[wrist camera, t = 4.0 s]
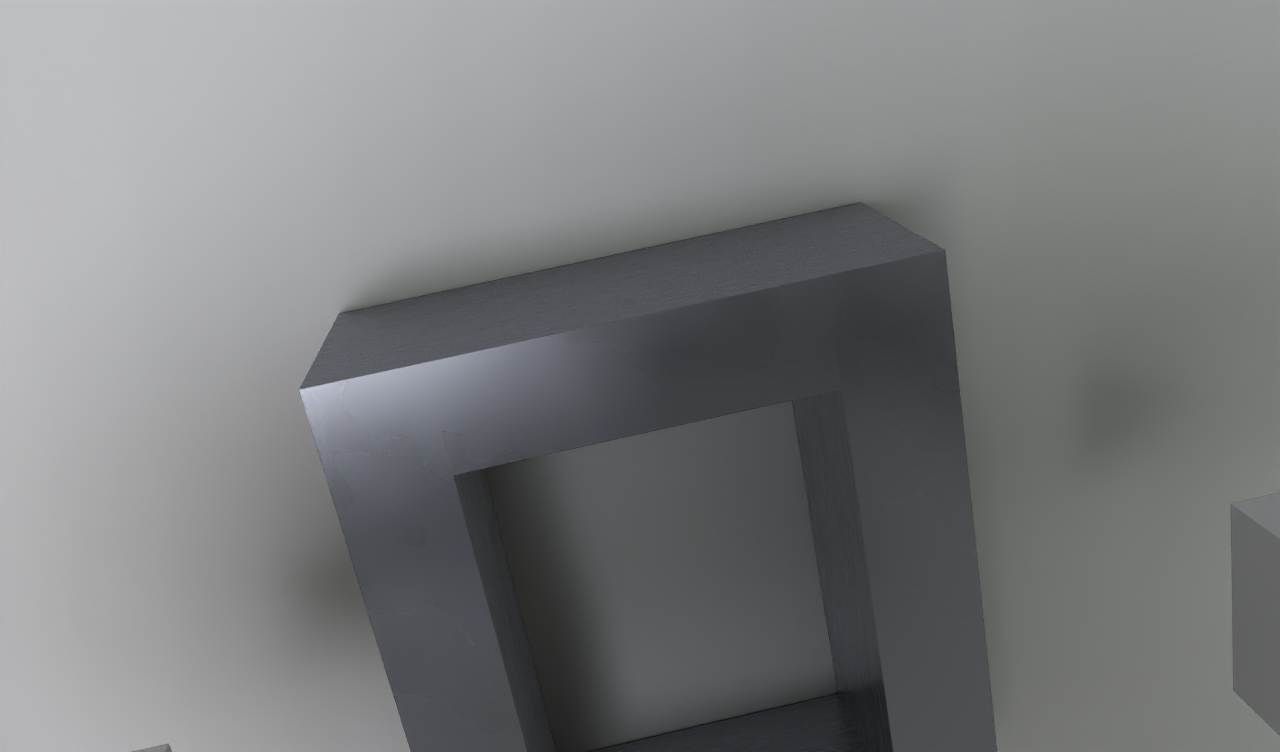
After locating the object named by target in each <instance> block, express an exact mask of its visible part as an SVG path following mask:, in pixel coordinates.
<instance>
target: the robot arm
mask: <svg viewBox="0 0 1280 752" xmlns="http://www.w3.org/2000/svg"><path fill="white" fill-rule="evenodd" d="M1231 554H1232V631H1233V690H1234V691H1235V692H1236V693H1237V694H1238V695H1239V696H1240V697H1241V698H1242V699H1243V700H1244V701H1245V702H1246V703H1247V704H1248V705H1249V706H1250V707H1251V708H1252V709H1253V710H1254V711H1255V712H1256V713H1257V714H1258V715H1259V716H1260V717H1261V718H1262V719H1263V720H1264V721H1265V722H1266V723H1267V724H1268V725H1269V726H1270V727H1272V728H1273V729H1274V730H1275V731H1276V732H1277V733H1278V734H1279V735H1280V493H1276V494H1272V495H1267V496H1263V497H1258V498H1254V499H1250V500H1245V501H1241V502H1236V503H1232V504H1231ZM133 752H172V751H171V748H170V746H169V743H168V744H164V745H160V746H155V747H151V748H146V749H142V750H137V751H133Z"/></svg>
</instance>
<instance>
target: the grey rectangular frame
mask: <svg viewBox="0 0 1280 752" xmlns="http://www.w3.org/2000/svg"><path fill="white" fill-rule="evenodd" d="M299 391H300V394H301V397H302V401H303V404H304V407H305V410H306V414H307V417H308V420H309V423H310V427H311V430H312V433H313V436H314V440H315V443H316V446H317V449H318V453H319V456H320V459H321V462H322V466H323V469H324V472H325V475H326V478H327V482H328V485H329V488H330V491H331V495H332V498H333V501H334V504H335V508H336V511H337V514H338V517H339V521H340V524H341V527H342V530H343V534H344V537H345V540H346V543H347V547H348V550H349V553H350V556H351V560H352V563H353V566H354V569H355V572H356V576H357V579H358V582H359V585H360V589H361V592H362V595H363V598H364V602H365V605H366V608H367V611H368V615H369V618H370V621H371V624H372V628H373V631H374V634H375V637H376V641H377V644H378V647H379V650H380V654H381V657H382V660H383V663H384V666H385V670H386V673H387V676H388V679H389V683H390V686H391V689H392V692H393V696H394V699H395V702H396V705H397V709H398V712H399V715H400V718H401V722H402V725H403V728H404V731H405V735H406V738H407V741H408V744H409V748H410V751H411V752H557V751H556V747H555V743H554V739H553V736H552V732H551V728H550V724H549V720H548V716H547V712H546V708H545V705H544V701H543V697H542V693H541V689H540V685H539V681H538V677H537V674H536V670H535V666H534V662H533V658H532V654H531V650H530V646H529V642H528V639H527V635H526V631H525V627H524V623H523V619H522V615H521V611H520V608H519V604H518V600H517V596H516V592H515V588H514V584H513V580H512V576H511V573H510V569H509V565H508V561H507V557H506V553H505V549H504V545H503V542H502V538H501V534H500V530H499V526H498V522H497V518H496V514H495V510H494V507H493V503H492V499H491V495H490V491H489V487H488V483H487V479H486V476H485V472H484V468H488V467H493V466H498V465H502V464H507V463H511V462H516V461H520V460H525V459H529V458H534V457H538V456H543V455H547V454H552V453H556V452H561V451H565V450H570V449H574V448H579V447H583V446H588V445H592V444H597V443H601V442H606V441H610V440H615V439H619V438H624V437H628V436H633V435H637V434H642V433H646V432H651V431H655V430H660V429H665V428H669V427H674V426H678V425H683V424H687V423H692V422H696V421H701V420H705V419H710V418H714V417H719V416H723V415H728V414H732V413H737V412H741V411H746V410H750V409H755V408H759V407H764V406H768V405H773V404H777V403H782V402H786V401H791V400H792V402H793V409H794V415H795V421H796V428H797V434H798V441H799V447H800V453H801V460H802V466H803V473H804V479H805V485H806V492H807V498H808V505H809V511H810V517H811V524H812V530H813V537H814V543H815V549H816V556H817V562H818V569H819V575H820V581H821V588H822V594H823V601H824V607H825V613H826V620H827V626H828V633H829V639H830V645H831V652H832V658H833V665H834V671H835V677H836V684H837V690H838V694H835V695H830V696H826V697H822V698H818V699H813V700H809V701H805V702H800V703H796V704H792V705H788V706H783V707H779V708H775V709H771V710H766V711H762V712H758V713H754V714H749V715H745V716H741V717H737V718H732V719H728V720H724V721H719V722H715V723H711V724H707V725H702V726H698V727H694V728H690V729H685V730H681V731H677V732H673V733H668V734H664V735H660V736H656V737H651V738H647V739H643V740H638V741H634V742H630V743H626V744H621V745H617V746H613V747H609V748H604V749H600V750H596V751H592V752H997V746H996V736H995V726H994V717H993V707H992V698H991V688H990V678H989V669H988V659H987V649H986V640H985V630H984V621H983V611H982V601H981V592H980V582H979V572H978V563H977V553H976V544H975V534H974V524H973V515H972V505H971V495H970V486H969V476H968V467H967V457H966V447H965V438H964V428H963V418H962V409H961V399H960V390H959V380H958V370H957V361H956V351H955V341H954V332H953V322H952V313H951V303H950V293H949V284H948V274H947V264H946V255H945V250H944V249H942V248H941V247H939V246H937V245H935V244H934V243H932V242H930V241H928V240H926V239H925V238H923V237H921V236H919V235H918V234H916V233H914V232H912V231H910V230H909V229H907V228H905V227H903V226H902V225H900V224H898V223H896V222H894V221H893V220H891V219H889V218H887V217H886V216H884V215H882V214H880V213H878V212H877V211H875V210H873V209H871V208H870V207H868V206H866V205H864V204H862V203H861V202H860V203H856V204H851V205H846V206H842V207H837V208H832V209H827V210H823V211H818V212H813V213H809V214H804V215H799V216H795V217H790V218H785V219H781V220H776V221H771V222H767V223H762V224H757V225H753V226H748V227H743V228H739V229H734V230H729V231H725V232H720V233H715V234H711V235H706V236H701V237H696V238H692V239H687V240H682V241H678V242H673V243H668V244H664V245H659V246H654V247H650V248H645V249H640V250H636V251H631V252H626V253H622V254H617V255H612V256H608V257H603V258H598V259H594V260H589V261H584V262H580V263H575V264H570V265H565V266H561V267H556V268H551V269H547V270H542V271H537V272H533V273H528V274H523V275H519V276H514V277H509V278H505V279H500V280H495V281H491V282H486V283H481V284H477V285H472V286H467V287H463V288H458V289H453V290H449V291H444V292H439V293H434V294H430V295H425V296H420V297H416V298H411V299H406V300H402V301H397V302H392V303H388V304H383V305H378V306H374V307H369V308H364V309H360V310H355V311H350V312H346V313H341V314H339V315H338V316H337V318H336V320H335V322H334V324H333V326H332V328H331V330H330V332H329V334H328V336H327V337H326V339H325V341H324V343H323V345H322V347H321V349H320V351H319V353H318V355H317V357H316V359H315V360H314V362H313V364H312V366H311V368H310V370H309V372H308V374H307V376H306V378H305V380H304V382H303V383H302V385H301V387H300V389H299Z"/></svg>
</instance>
